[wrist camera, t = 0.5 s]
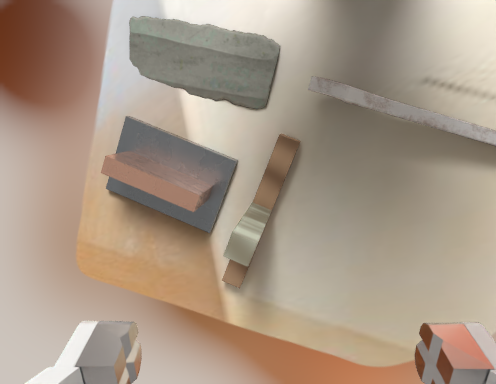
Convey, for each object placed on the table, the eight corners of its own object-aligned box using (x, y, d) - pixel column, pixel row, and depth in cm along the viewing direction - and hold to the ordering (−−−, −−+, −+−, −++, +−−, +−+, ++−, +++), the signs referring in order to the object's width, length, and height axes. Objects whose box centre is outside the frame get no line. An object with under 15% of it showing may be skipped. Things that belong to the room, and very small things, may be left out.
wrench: (510, 152, 52) (303, 90, 52) (516, 139, 52) (308, 77, 52) (552, 161, 45) (309, 89, 44) (560, 146, 44) (314, 74, 44)
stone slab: (268, 110, 56) (283, 38, 52) (265, 113, 53) (280, 37, 49) (129, 79, 59) (133, 9, 55) (120, 80, 56) (124, 7, 52)
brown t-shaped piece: (281, 133, 55) (266, 143, 39) (300, 141, 54) (294, 154, 38) (225, 273, 61) (193, 331, 45) (242, 281, 60) (216, 342, 45)
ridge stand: (129, 116, 58) (101, 117, 50) (237, 160, 56) (225, 168, 49) (109, 187, 61) (80, 198, 53) (211, 230, 59) (196, 248, 52)
